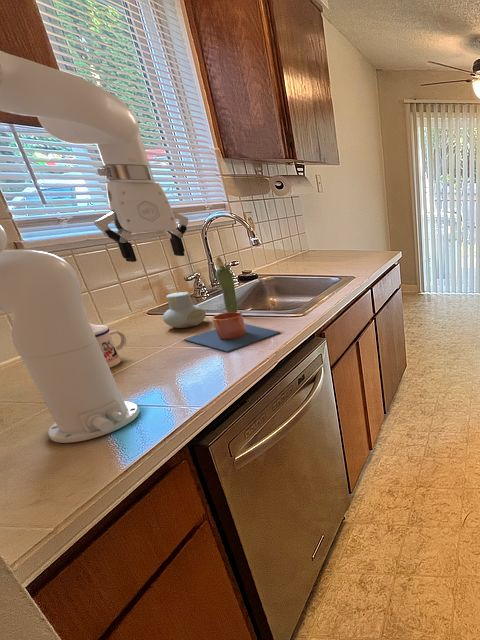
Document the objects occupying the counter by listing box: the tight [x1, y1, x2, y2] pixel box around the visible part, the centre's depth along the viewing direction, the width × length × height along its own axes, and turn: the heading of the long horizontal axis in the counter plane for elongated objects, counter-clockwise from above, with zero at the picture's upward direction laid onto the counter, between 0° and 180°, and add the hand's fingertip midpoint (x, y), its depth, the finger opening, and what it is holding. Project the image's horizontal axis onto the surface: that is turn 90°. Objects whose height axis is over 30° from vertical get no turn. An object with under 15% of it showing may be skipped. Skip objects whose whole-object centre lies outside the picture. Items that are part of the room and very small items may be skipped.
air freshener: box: [162, 291, 207, 329], centre depth 123 cm, size 11×8×10 cm
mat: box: [183, 323, 281, 353], centre depth 115 cm, size 20×16×1 cm
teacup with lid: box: [90, 323, 127, 369], centre depth 97 cm, size 12×9×12 cm
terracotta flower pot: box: [212, 311, 247, 340], centre depth 114 cm, size 7×7×6 cm
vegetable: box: [215, 255, 238, 313], centre depth 130 cm, size 4×4×20 cm
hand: (156, 258), depth 91 cm, fingers open, 9 cm apart
